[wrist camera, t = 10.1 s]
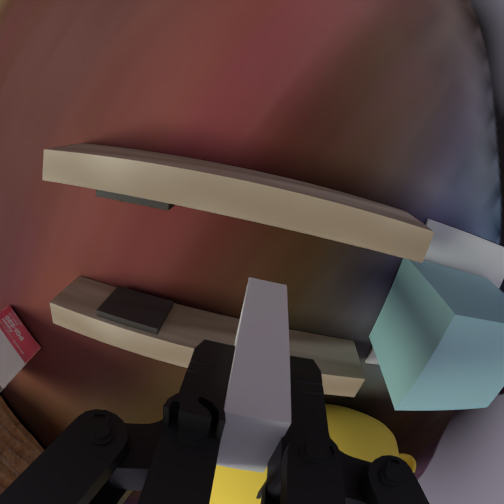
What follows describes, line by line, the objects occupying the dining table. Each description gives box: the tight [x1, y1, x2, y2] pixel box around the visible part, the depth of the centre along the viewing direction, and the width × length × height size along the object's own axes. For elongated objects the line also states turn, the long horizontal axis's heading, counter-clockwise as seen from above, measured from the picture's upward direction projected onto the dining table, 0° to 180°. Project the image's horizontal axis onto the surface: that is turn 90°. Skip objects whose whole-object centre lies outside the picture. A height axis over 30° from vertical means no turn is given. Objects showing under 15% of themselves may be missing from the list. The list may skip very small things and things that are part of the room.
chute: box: [42, 143, 434, 397], centre depth 15 cm, size 10×18×4 cm, turn 78°
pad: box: [365, 218, 504, 364], centre depth 17 cm, size 10×8×1 cm
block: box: [369, 258, 504, 411], centre depth 14 cm, size 6×7×6 cm
